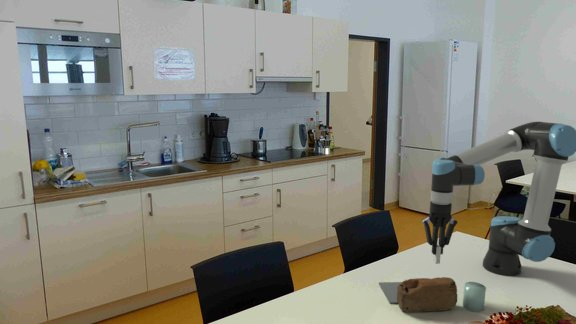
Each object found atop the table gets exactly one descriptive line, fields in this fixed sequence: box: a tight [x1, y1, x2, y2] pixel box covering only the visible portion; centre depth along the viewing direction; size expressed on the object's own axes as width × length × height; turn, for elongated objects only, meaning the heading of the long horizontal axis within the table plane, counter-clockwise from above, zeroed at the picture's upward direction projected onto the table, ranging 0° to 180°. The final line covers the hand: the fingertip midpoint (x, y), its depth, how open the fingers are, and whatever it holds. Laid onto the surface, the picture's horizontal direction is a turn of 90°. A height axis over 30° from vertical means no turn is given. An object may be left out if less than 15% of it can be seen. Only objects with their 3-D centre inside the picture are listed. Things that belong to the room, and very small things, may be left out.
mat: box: [378, 281, 402, 305], centre depth 164 cm, size 17×16×1 cm
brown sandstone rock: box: [397, 276, 458, 313], centre depth 152 cm, size 11×8×20 cm
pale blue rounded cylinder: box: [462, 281, 487, 313], centre depth 154 cm, size 7×7×8 cm
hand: (436, 262), depth 163 cm, fingers closed
